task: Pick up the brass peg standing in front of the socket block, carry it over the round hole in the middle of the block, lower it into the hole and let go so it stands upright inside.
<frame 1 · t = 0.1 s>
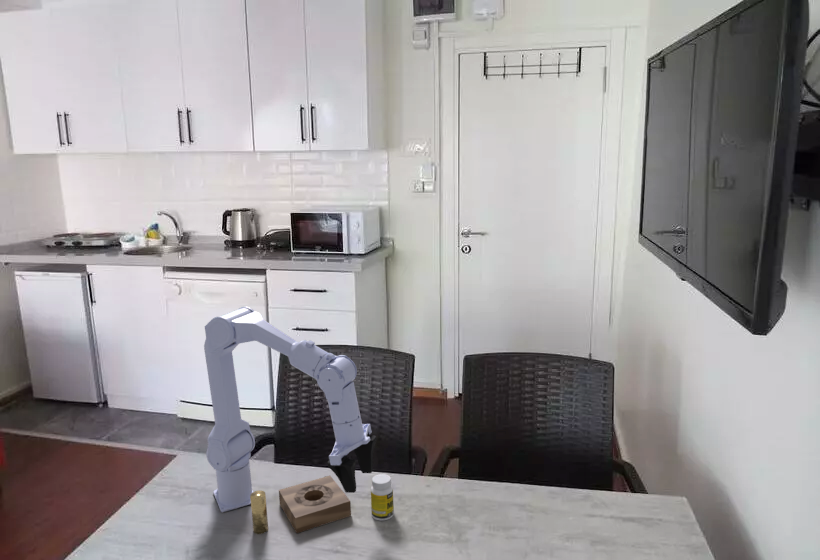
hand: (359, 481, 121), 11 cm above the table, tool pointing down, fingers open, 7 cm apart
supplement bottle: (382, 515, 128), on the table
brass peg: (260, 529, 124), on the table
socket block: (314, 510, 130), on the table
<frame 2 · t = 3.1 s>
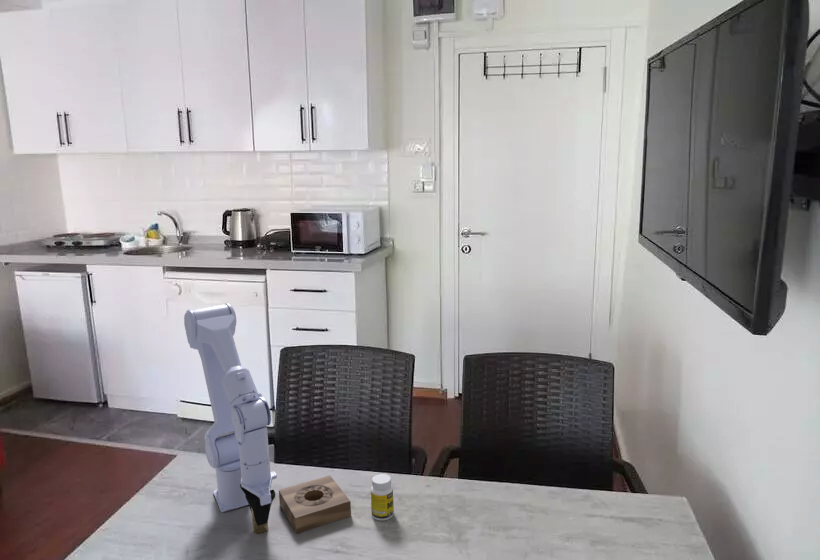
hand: (259, 519, 123), 2 cm above the table, tool pointing down, fingers closed on brass peg, 3 cm apart
brass peg: (260, 529, 124), on the table, touching gripper
everything else where it was.
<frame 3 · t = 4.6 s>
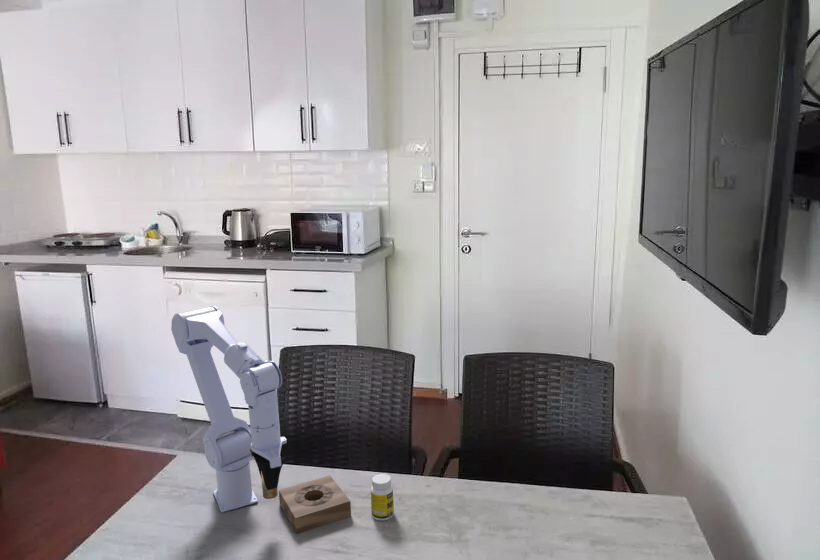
hand: (269, 484, 123), 9 cm above the table, tool pointing down, fingers closed on brass peg, 3 cm apart
brass peg: (270, 494, 124), point 7 cm above the table, touching gripper
everything else where it was.
when the fingers open (4 cm above the table, at t = 6.3 s): brass peg stays where it is, resting on socket block.
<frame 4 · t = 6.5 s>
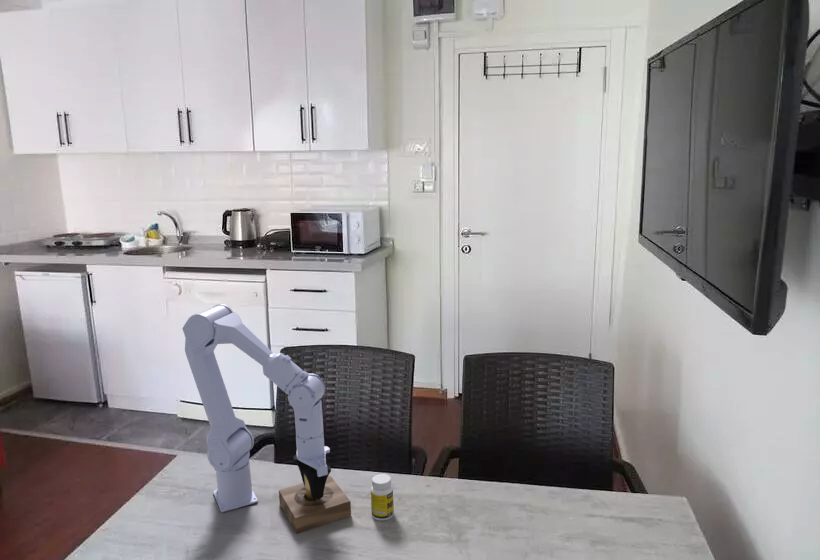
hand: (313, 491, 129), 4 cm above the table, tool pointing down, fingers open, 5 cm apart
brass peg: (314, 505, 130), point 1 cm above the table, touching socket block
everything else where it was.
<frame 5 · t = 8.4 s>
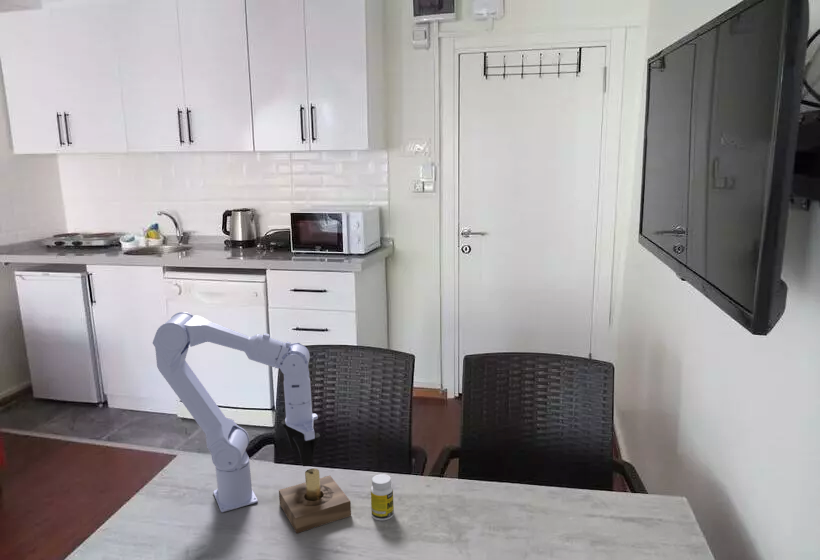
hand: (301, 456, 134), 9 cm above the table, tool pointing down, fingers open, 7 cm apart
nothing on the table moved.
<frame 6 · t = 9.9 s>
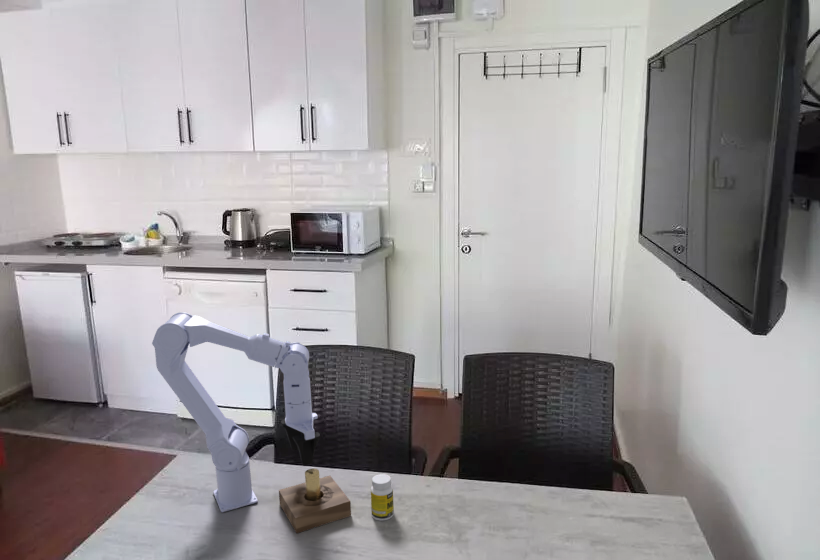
hand: (301, 456, 134), 9 cm above the table, tool pointing down, fingers open, 7 cm apart
nothing on the table moved.
at the end: brass peg 0.1 cm off-centre on the socket block, point 1.0 cm above the socket block's base; brass peg tilted 0°; the gripper is holding nothing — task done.
